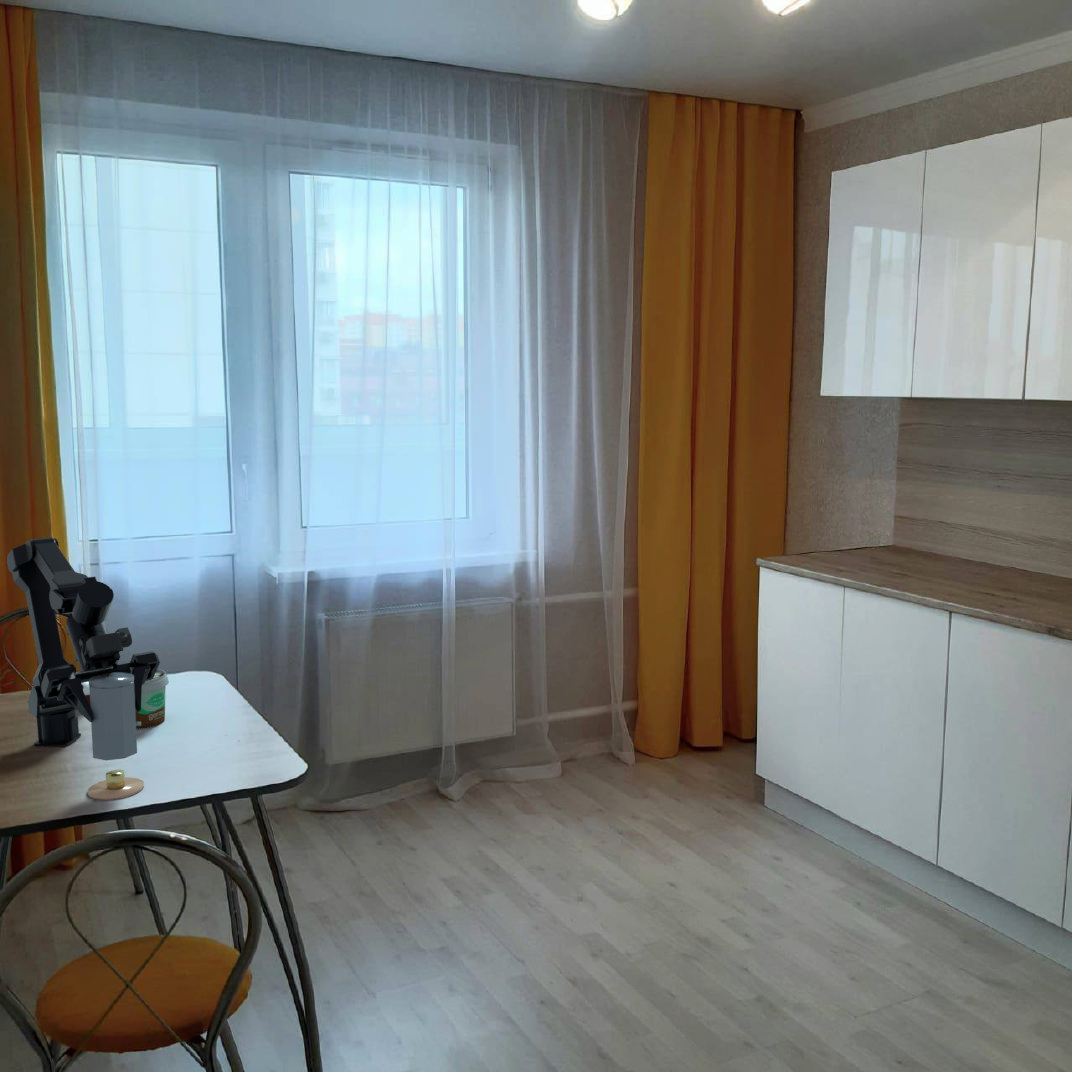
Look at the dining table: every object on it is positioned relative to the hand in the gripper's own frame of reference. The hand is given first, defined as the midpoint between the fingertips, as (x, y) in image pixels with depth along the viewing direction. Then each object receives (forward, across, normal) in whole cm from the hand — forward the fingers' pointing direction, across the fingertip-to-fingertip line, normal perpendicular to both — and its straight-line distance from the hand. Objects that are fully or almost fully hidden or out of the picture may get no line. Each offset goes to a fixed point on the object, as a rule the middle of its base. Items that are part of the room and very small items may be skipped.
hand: (116, 715), depth 181 cm
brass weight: (+9, 0, +10) cm, 14 cm away
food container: (-14, +18, +33) cm, 40 cm away
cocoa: (-28, +13, +47) cm, 56 cm away
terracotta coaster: (+9, 0, +10) cm, 14 cm away
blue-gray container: (+4, 0, +6) cm, 7 cm away
